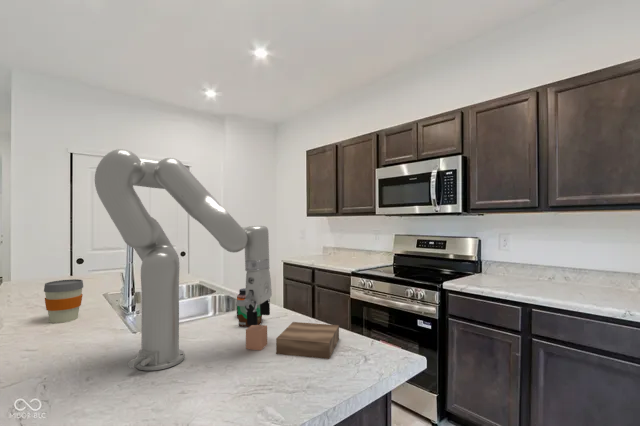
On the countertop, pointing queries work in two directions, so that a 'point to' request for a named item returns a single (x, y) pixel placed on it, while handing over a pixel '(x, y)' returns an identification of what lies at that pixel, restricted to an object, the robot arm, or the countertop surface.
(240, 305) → the food container
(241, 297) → the supplement bottle
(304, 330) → the walnut block
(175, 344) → the robot arm
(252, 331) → the terracotta block
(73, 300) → the reusable coffee cup
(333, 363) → the countertop surface
